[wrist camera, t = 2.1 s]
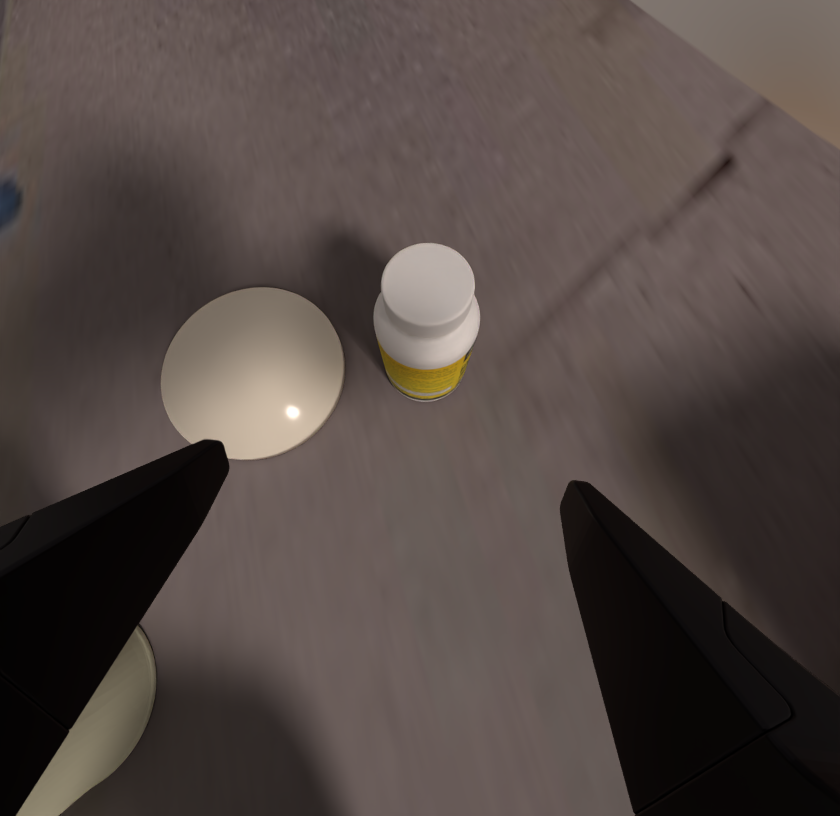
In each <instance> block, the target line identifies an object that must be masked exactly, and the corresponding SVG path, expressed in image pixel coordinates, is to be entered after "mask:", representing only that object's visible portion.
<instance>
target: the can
mask: <svg viewBox="0 0 840 816" xmlns="http://www.w3.org/2000/svg"><path fill="white" fill-rule="evenodd" d="M155 693H156V666H155V659H154V655H153V652H152V649H151V646H150V644H149V641H148V639H147V638H146V636H145V634H144V632H143V631H142V630H141V629H140V627H139V626H137V627H136V629H135V630H134V632H133V633H132V635H131V637H130V638H129V640H128V641H127V643H126V644H125V646H124V647H123V649H122V651H121V652H120V654H119V655H118V657H117V658H116V660H115V661H114V663H113V665H112V666H111V668H110V669H109V671H108V672H107V674H106V676H105V677H104V679H103V680H102V682H101V683H100V685H99V686H98V688H97V690H96V691H95V693H94V694H93V696H92V697H91V699H90V701H89V702H88V704H87V705H86V707H85V708H84V710H83V711H82V713H81V715H80V716H79V718H78V719H77V721H76V722H75V724H74V726H73V727H72V728H71V729H70V730H69V734H68V735H67V737H66V739H65V740H64V742H63V743H62V745H61V746H60V748H59V749H58V751H57V753H56V754H55V756H54V757H53V759H52V760H51V762H50V763H49V765H48V767H47V768H46V770H45V771H44V773H43V774H42V776H41V778H40V779H39V781H38V782H37V784H36V785H35V787H34V788H33V790H32V792H31V793H30V795H29V796H28V798H27V799H26V801H25V802H24V804H23V806H22V807H21V809H20V810H19V812H18V813H17V815H16V816H59V815H60V814H61V813H62V812H63V811H65V810H66V809H67V808H68V807H69V806H70V805H71V804H73V803H74V802H75V801H76V800H77V799H79V798H80V797H81V796H82V795H83V794H85V793H86V792H87V791H88V790H89V789H91V788H92V787H94V786H96V785H97V784H99V783H100V782H101V781H103V780H104V779H106V778H107V777H108V776H109V775H110V774H112V773H113V772H114V771H115V770H116V769H117V768H118V767H119V766H120V765H121V764H122V763H123V762H124V760H125V759H126V758H127V757H128V756H129V755H130V753H131V752H132V750H133V749H134V747H135V746H136V744H137V743H138V741H139V739H140V738H141V736H142V734H143V732H144V730H145V728H146V725H147V723H148V721H149V718H150V715H151V712H152V708H153V704H154V700H155Z"/></svg>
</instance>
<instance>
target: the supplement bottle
mask: <svg viewBox="0 0 840 816" xmlns="http://www.w3.org/2000/svg"><path fill="white" fill-rule="evenodd" d="M474 290H475V281H474V276H473V272H472V270H471V267H470V266H469V264H468V263H467V261H466V260H465V259H464V258H463V257H462V256H461V255H460V254H459V253H458V252H456V251H455V250H453V249H451V248H449V247H447V246H444V245H441V244H435V243H421V244H415V245H412V246H409V247H407V248H405V249H403V250H401V251H400V252H398V253H397V254H396V255H394V256H393V258H392V259H391V260H390V261H389V262H388V264H387V265H386V267H385V269H384V272H383V275H382V279H381V293H380V294H379V296H378V298H377V301H376V304H375V307H374V314H373V320H374V328H375V333H376V337H377V340H378V344H379V348H380V351H381V355H382V358H383V362H384V365H385V369H386V372H387V376H388V378H389V380H390V382H391V383H392V385H393V386H394V388H395V389H396V390H397V391H398V392H399V393H401V394H402V395H404V396H405V397H407V398H409V399H412V400H415V401H420V402H430V401H435V400H439V399H441V398H444V397H445V396H447V395H449V394H450V393H451V392H453V391H454V390H455V389H456V387H457V386H458V385H459V383H460V381H461V380H462V377H463V375H464V373H465V370H466V366H467V364H468V361H469V358H470V355H471V352H472V349H473V346H474V343H475V341H476V337H477V334H478V330H479V325H480V311H479V306H478V303H477V300H476V297H475V295H474Z"/></svg>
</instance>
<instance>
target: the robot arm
mask: <svg viewBox="0 0 840 816" xmlns="http://www.w3.org/2000/svg"><path fill="white" fill-rule="evenodd" d="M228 472H229V462H228V458H227V454H226V451H225V447H224V444H223V443H222V442H221V441H219V440H212V439H203V440H201V441H198V442H196V443H194V444H191V445H189V446H187V447H185V448H182V449H180V450H178V451H175V452H173V453H171V454H168V455H166V456H164V457H161V458H159V459H157V460H154V461H152V462H150V463H147V464H145V465H143V466H141V467H138V468H136V469H134V470H131V471H129V472H127V473H124V474H122V475H120V476H117V477H115V478H113V479H110V480H108V481H106V482H104V483H101V484H99V485H97V486H94V487H92V488H90V489H87V490H85V491H83V492H80V493H78V494H76V495H73V496H71V497H69V498H66V499H64V500H62V501H60V502H57V503H55V504H53V505H50V506H48V507H46V508H43V509H41V510H39V511H36V512H34V513H33V514H32V515H27V516H25V517H22V518H20V519H18V520H15V521H13V522H11V523H8V524H6V525H4V526H1V527H0V816H16V815H17V813H18V812H19V810H20V809H21V807H22V806H23V804H24V802H25V801H26V799H27V798H28V796H29V795H30V793H31V792H32V790H33V788H34V787H35V785H36V784H37V782H38V781H39V779H40V778H41V776H42V774H43V773H44V771H45V770H46V768H47V767H48V765H49V763H50V762H51V760H52V759H53V757H54V756H55V754H56V753H57V751H58V749H59V748H60V746H61V745H62V743H63V742H64V740H65V739H66V737H67V735H68V734H69V730H70V729H71V728H72V727H73V726H74V724H75V722H76V721H77V719H78V718H79V716H80V715H81V713H82V711H83V710H84V708H85V707H86V705H87V704H88V702H89V701H90V699H91V697H92V696H93V694H94V693H95V691H96V690H97V688H98V686H99V685H100V683H101V682H102V680H103V679H104V677H105V676H106V674H107V672H108V671H109V669H110V668H111V666H112V665H113V663H114V661H115V660H116V658H117V657H118V655H119V654H120V652H121V651H122V649H123V647H124V646H125V644H126V643H127V641H128V640H129V638H130V637H131V635H132V633H133V632H134V630H135V629H136V627H137V626H138V624H139V622H140V621H141V619H142V618H143V616H144V615H145V613H146V612H147V610H148V608H149V607H150V605H151V604H152V602H153V601H154V599H155V597H156V596H157V594H158V593H159V591H160V590H161V588H162V587H163V585H164V583H165V582H166V580H167V579H168V577H169V576H170V574H171V573H172V571H173V569H174V568H175V566H176V565H177V563H178V562H179V560H180V558H181V557H182V555H183V554H184V552H185V551H186V549H187V548H188V546H189V544H190V543H191V541H192V540H193V538H194V537H195V535H196V533H197V532H198V530H199V529H200V527H201V525H202V523H203V522H204V520H205V518H206V516H207V514H208V512H209V510H210V508H211V506H212V504H213V502H214V500H215V498H216V496H217V494H218V492H219V490H220V488H221V486H222V484H223V482H224V480H225V478H226V476H227V474H228ZM560 515H561V522H562V529H563V535H564V542H565V549H566V555H567V562H568V568H569V572H570V576H571V580H572V584H573V588H574V592H575V595H576V599H577V603H578V607H579V610H580V614H581V618H582V622H583V625H584V629H585V633H586V637H587V640H588V644H589V648H590V652H591V655H592V659H593V663H594V667H595V670H596V674H597V678H598V682H599V685H600V689H601V693H602V697H603V700H604V704H605V708H606V712H607V716H608V719H609V723H610V727H611V731H612V734H613V738H614V742H615V746H616V749H617V753H618V757H619V761H620V764H621V768H622V772H623V776H624V779H625V783H626V787H627V791H628V794H629V798H630V802H631V806H632V809H633V812H634V813H635V814H636V815H635V816H840V695H839V694H837V693H836V692H835V691H833V690H832V689H831V688H830V687H828V686H827V685H826V684H825V683H823V682H822V681H821V680H819V679H818V678H817V677H816V676H814V675H813V674H812V673H811V672H809V671H808V670H807V669H806V668H804V667H803V666H802V665H801V664H799V663H798V662H797V661H796V660H794V659H793V658H792V657H791V656H789V655H788V654H787V653H786V652H785V651H783V650H782V649H781V648H780V647H778V646H777V645H776V644H775V643H773V642H772V641H771V640H770V639H769V638H768V637H766V636H765V635H764V634H763V633H762V632H760V631H759V630H758V629H757V628H756V627H755V626H753V625H752V624H751V623H750V622H749V621H747V620H746V619H745V618H744V617H743V616H742V615H740V614H739V613H738V612H737V611H736V610H735V609H734V608H732V607H731V606H730V605H729V604H728V603H727V602H725V601H722V599H721V597H720V596H718V595H717V594H716V593H715V592H714V591H713V590H712V589H710V588H709V587H708V586H707V585H706V584H705V583H704V582H702V581H701V580H700V579H699V578H698V577H697V576H696V575H694V574H693V573H692V572H691V571H690V570H689V569H687V568H686V567H685V566H684V565H683V564H682V563H681V562H679V561H678V560H677V559H676V558H675V557H674V556H673V555H671V554H670V553H669V552H668V551H667V550H666V549H665V548H663V547H662V546H661V545H660V544H659V543H658V542H656V541H655V540H654V539H653V538H652V537H651V536H650V535H648V534H647V533H646V532H645V531H644V530H643V529H642V528H640V527H639V526H638V525H637V524H636V523H635V522H634V521H632V520H631V519H630V518H629V517H628V516H627V515H625V514H624V513H623V512H622V511H621V510H620V509H619V508H617V507H616V506H615V505H614V504H613V503H612V502H611V501H609V500H608V499H607V498H606V497H605V496H604V495H603V494H601V493H600V492H599V491H598V490H597V489H596V488H594V487H593V486H592V485H591V484H590V483H588V482H585V481H576V480H572V481H570V482H569V484H568V486H567V488H566V491H565V493H564V496H563V499H562V501H561V504H560Z"/></svg>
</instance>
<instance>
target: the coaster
mask: <svg viewBox="0 0 840 816" xmlns="http://www.w3.org/2000/svg"><path fill="white" fill-rule="evenodd" d="M345 367H346V365H345V356H344V351H343V347H342V344H341V342H340V339H339V337H338V335H337V333H336V331H335V329H334V328H333V326H332V324H331V323H330V321H329V319H328V318H327V317H326V316H325V314H324V313H323V312H322V311H321V310H320V309H319V308H318V307H317V306H315V305H314V304H313V303H311V302H310V301H308V300H307V299H305V298H303V297H301V296H300V295H298V294H295V293H292V292H289V291H286V290H282V289H277V288H268V287H256V288H247V289H242V290H238V291H234V292H231V293H228V294H225V295H223V296H220V297H218V298H216V299H215V300H213V301H211V302H209V303H208V304H206V305H205V306H203V307H202V308H200V309H199V310H198V311H197V312H195V313H194V314H193V315H192V316H191V317H190V318H189V319H188V320H187V321H186V322H185V323H184V324H183V326H182V327H181V328H180V330H179V331H178V332H177V334H176V335H175V337H174V339H173V340H172V342H171V344H170V346H169V348H168V351H167V353H166V356H165V359H164V363H163V367H162V373H161V392H162V399H163V403H164V407H165V410H166V412H167V414H168V416H169V419H170V420H171V422H172V423H173V425H174V427H175V428H176V429H177V430H178V432H179V433H180V434H181V435H182V436H183V437H184V438H185V439H186V440H188V441H189V442H190V443H191V444H194V443H196V442H198V441H201V440H203V439H212V440H219V441H221V442H222V443H223V444H224V447H225V451H226V454H227V458H230V459H237V460H261V459H267V458H271V457H275V456H278V455H281V454H284V453H286V452H289V451H291V450H293V449H295V448H296V447H298V446H300V445H302V444H303V443H304V442H306V441H307V440H308V439H310V438H311V437H312V436H313V435H315V434H316V433H317V432H318V431H319V430H320V429H321V428H322V426H323V425H324V424H325V423H326V422H327V420H328V419H329V418H330V416H331V414H332V413H333V411H334V410H335V408H336V406H337V403H338V401H339V399H340V396H341V393H342V390H343V386H344V380H345Z"/></svg>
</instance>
